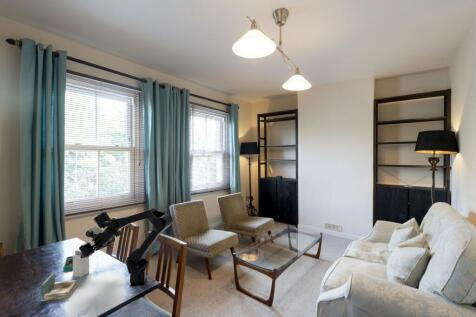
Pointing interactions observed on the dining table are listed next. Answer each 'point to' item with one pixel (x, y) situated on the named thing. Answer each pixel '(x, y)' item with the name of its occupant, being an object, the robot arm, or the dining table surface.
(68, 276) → the dining table surface
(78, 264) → the connector plug
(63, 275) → the dining table surface
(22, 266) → the dining table surface
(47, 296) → the tray
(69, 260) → the digital multimeter
